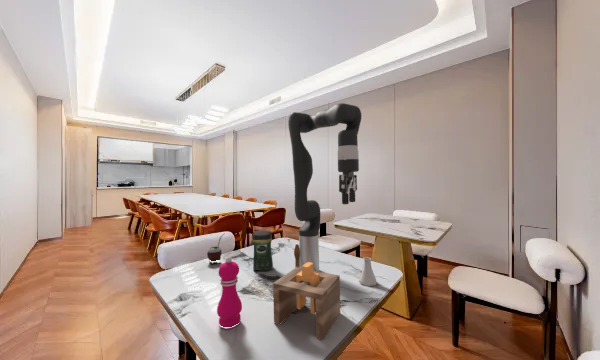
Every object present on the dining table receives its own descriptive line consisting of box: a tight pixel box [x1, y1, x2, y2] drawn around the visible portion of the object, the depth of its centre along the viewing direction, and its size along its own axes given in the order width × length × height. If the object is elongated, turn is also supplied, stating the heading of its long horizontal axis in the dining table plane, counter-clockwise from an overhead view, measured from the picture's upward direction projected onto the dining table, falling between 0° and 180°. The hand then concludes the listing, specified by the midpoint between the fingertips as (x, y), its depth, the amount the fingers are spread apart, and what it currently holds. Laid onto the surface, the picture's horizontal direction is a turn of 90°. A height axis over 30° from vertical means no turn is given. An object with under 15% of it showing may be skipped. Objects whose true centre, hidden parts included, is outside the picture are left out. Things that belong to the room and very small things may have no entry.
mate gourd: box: [206, 232, 225, 261], centre depth 122 cm, size 8×8×15 cm
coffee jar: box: [251, 230, 274, 272], centre depth 112 cm, size 10×8×19 cm
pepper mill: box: [216, 256, 243, 327], centre depth 69 cm, size 7×7×20 cm
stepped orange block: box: [296, 262, 320, 315], centre depth 71 cm, size 6×4×14 cm, turn 61°
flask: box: [358, 256, 378, 287], centre depth 95 cm, size 7×7×10 cm
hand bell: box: [293, 243, 300, 269], centre depth 96 cm, size 8×8×16 cm
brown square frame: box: [272, 267, 341, 341], centre depth 71 cm, size 16×14×12 cm
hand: (349, 203), depth 84 cm, fingers open, 8 cm apart
